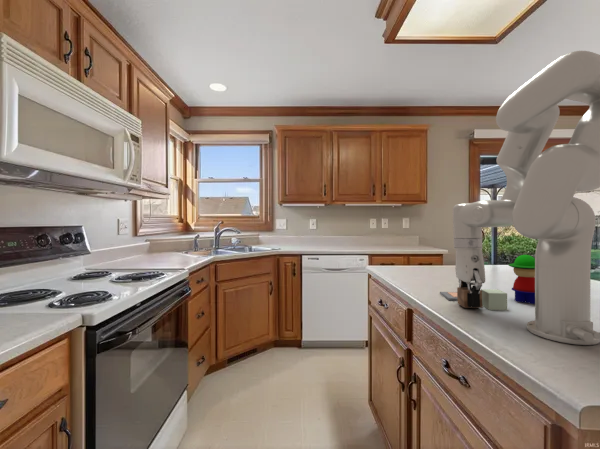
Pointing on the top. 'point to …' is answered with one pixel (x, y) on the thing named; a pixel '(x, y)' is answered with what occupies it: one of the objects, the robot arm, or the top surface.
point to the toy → (524, 279)
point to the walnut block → (465, 297)
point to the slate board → (450, 295)
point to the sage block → (494, 299)
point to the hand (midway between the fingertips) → (469, 303)
